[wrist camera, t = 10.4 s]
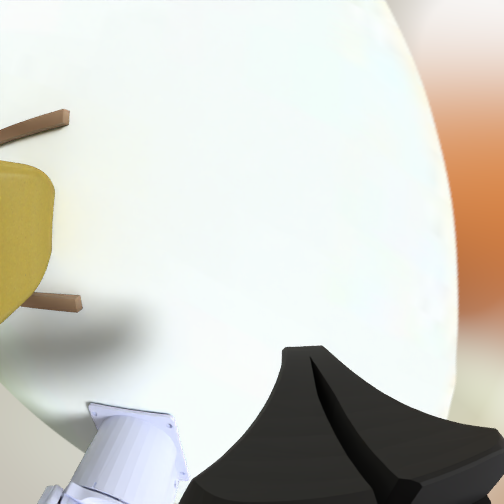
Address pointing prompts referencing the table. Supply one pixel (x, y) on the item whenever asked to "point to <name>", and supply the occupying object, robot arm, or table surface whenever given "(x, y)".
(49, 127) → the brown wooden open-sided frame
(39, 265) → the flower pot
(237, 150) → the table surface
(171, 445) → the robot arm
